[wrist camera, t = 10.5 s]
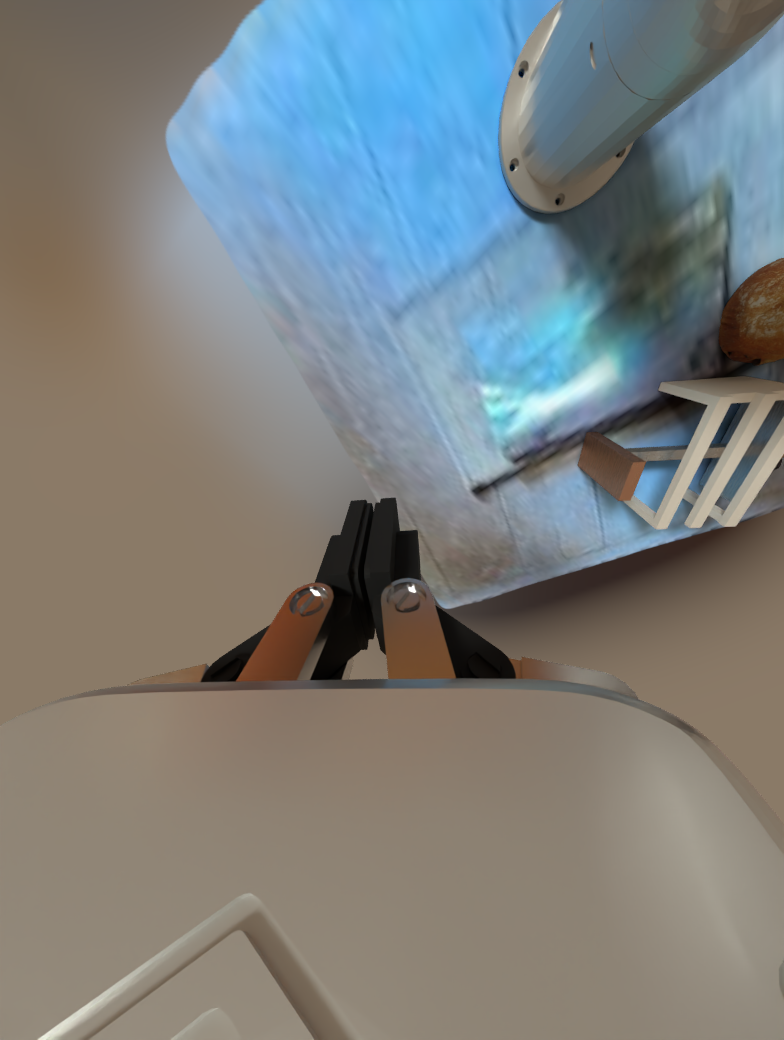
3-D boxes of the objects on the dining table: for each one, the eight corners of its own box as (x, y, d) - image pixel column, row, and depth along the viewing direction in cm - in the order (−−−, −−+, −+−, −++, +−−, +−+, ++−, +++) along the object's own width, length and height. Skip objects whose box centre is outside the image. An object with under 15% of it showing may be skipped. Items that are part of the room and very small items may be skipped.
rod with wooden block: (594, 403, 41) (646, 427, 32) (755, 392, 39) (857, 414, 30) (571, 488, 48) (608, 527, 39) (706, 482, 46) (776, 521, 38)
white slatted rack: (661, 382, 39) (720, 397, 32) (745, 376, 39) (826, 390, 31) (617, 496, 49) (655, 529, 41) (684, 493, 48) (735, 526, 40)
